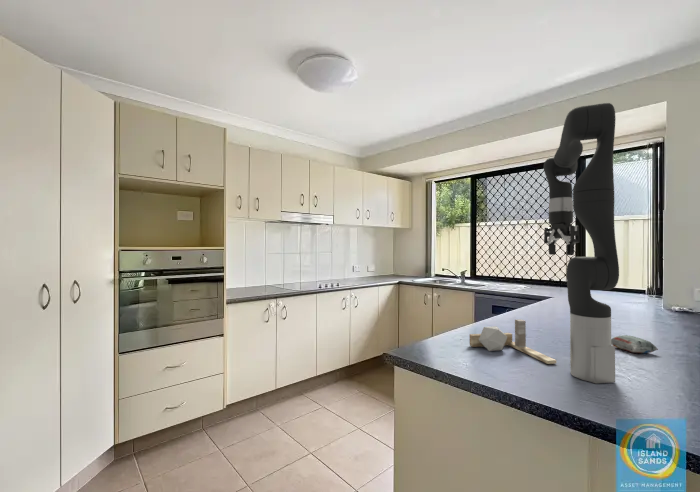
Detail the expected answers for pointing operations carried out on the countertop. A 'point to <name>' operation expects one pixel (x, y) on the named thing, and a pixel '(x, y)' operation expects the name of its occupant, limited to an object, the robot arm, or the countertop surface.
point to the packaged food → (633, 344)
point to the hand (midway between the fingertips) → (560, 254)
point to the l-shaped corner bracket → (516, 342)
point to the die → (493, 338)
